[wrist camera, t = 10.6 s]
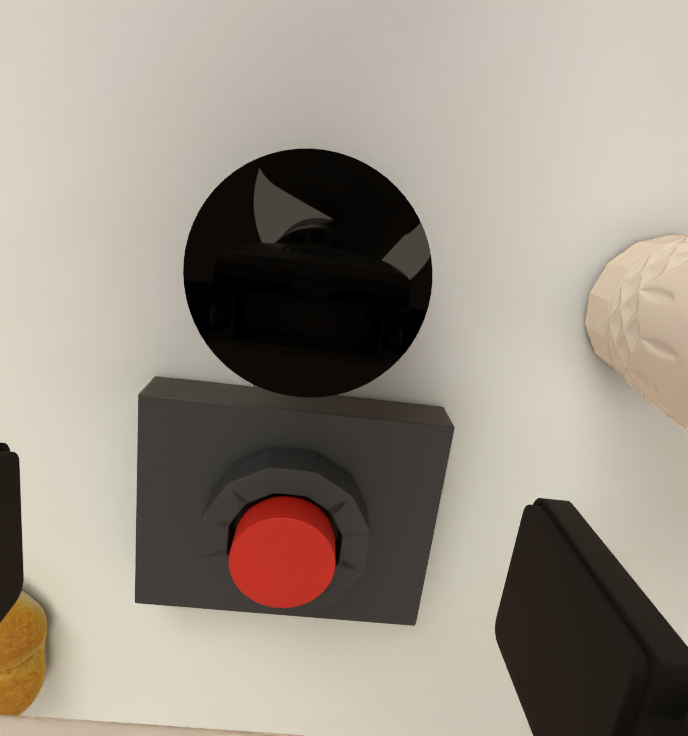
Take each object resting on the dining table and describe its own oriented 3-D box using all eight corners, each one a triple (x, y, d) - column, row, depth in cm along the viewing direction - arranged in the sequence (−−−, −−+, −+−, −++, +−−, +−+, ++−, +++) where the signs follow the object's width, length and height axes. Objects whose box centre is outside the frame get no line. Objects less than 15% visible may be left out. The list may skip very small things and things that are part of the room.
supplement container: (421, 259, 25) (481, 304, 15) (304, 348, 26) (289, 442, 17) (330, 130, 24) (331, 87, 14) (208, 231, 25) (128, 258, 15)
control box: (154, 375, 27) (121, 411, 22) (443, 406, 28) (465, 446, 23) (149, 570, 30) (119, 634, 26) (408, 592, 31) (422, 657, 27)
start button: (238, 490, 24) (231, 512, 22) (340, 500, 24) (341, 523, 23) (231, 577, 25) (224, 604, 24) (329, 585, 26) (328, 612, 24)
